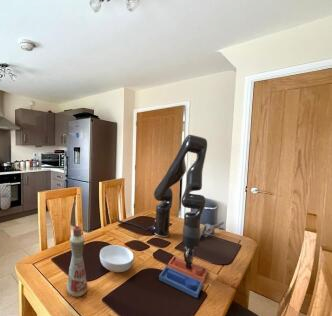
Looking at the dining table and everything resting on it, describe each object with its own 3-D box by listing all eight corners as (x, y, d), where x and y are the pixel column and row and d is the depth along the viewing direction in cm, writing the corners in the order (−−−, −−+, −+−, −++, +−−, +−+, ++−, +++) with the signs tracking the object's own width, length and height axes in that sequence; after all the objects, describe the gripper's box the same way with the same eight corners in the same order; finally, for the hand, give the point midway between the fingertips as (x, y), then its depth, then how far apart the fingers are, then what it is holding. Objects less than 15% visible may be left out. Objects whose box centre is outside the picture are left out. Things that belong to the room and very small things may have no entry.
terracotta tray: (167, 267, 100) (167, 263, 99) (173, 259, 107) (173, 255, 106) (203, 282, 89) (203, 278, 89) (207, 272, 96) (207, 268, 96)
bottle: (78, 279, 89) (80, 220, 87) (91, 291, 82) (93, 227, 80) (62, 288, 83) (63, 225, 81) (74, 301, 77) (76, 233, 74)
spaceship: (231, 222, 139) (220, 215, 145) (200, 237, 123) (189, 228, 129) (226, 230, 143) (216, 222, 149) (195, 246, 127) (185, 236, 133)
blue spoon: (165, 278, 91) (166, 272, 90) (169, 273, 94) (169, 268, 94) (195, 292, 83) (195, 286, 82) (197, 286, 86) (198, 280, 86)
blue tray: (158, 279, 90) (158, 275, 90) (165, 270, 97) (165, 266, 97) (197, 298, 80) (197, 293, 80) (202, 286, 87) (202, 281, 87)
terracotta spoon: (173, 266, 100) (174, 261, 100) (176, 262, 103) (176, 257, 103) (201, 277, 92) (201, 271, 92) (203, 272, 95) (203, 266, 95)
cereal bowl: (110, 282, 88) (111, 267, 87) (93, 262, 102) (94, 249, 102) (140, 272, 95) (140, 258, 95) (120, 254, 110) (120, 242, 109)
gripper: (186, 227, 104) (184, 258, 105) (178, 236, 93) (176, 270, 94) (202, 231, 99) (200, 264, 100) (196, 241, 88) (193, 278, 90)
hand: (188, 267), depth 97 cm, fingers closed
